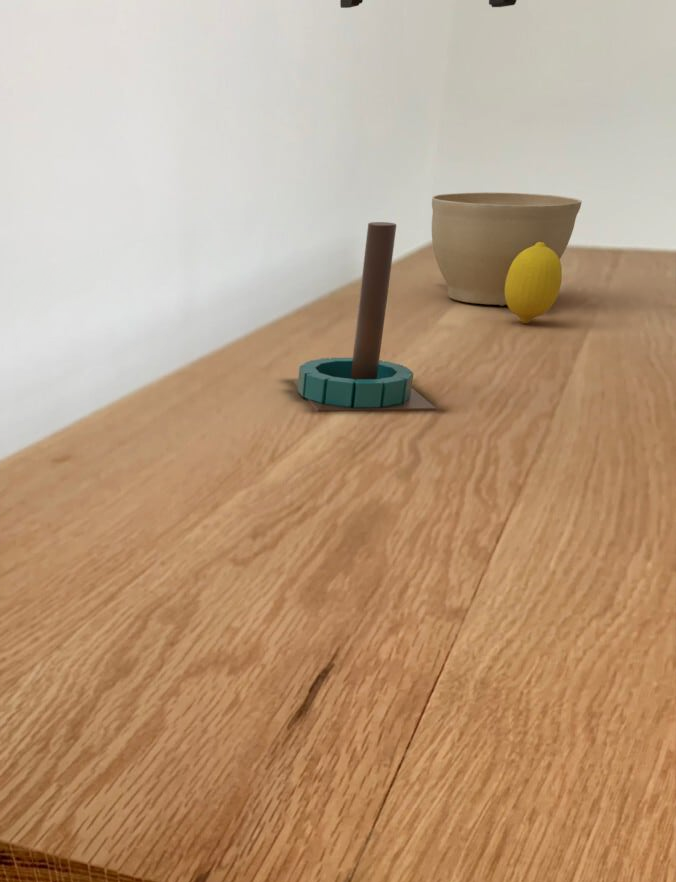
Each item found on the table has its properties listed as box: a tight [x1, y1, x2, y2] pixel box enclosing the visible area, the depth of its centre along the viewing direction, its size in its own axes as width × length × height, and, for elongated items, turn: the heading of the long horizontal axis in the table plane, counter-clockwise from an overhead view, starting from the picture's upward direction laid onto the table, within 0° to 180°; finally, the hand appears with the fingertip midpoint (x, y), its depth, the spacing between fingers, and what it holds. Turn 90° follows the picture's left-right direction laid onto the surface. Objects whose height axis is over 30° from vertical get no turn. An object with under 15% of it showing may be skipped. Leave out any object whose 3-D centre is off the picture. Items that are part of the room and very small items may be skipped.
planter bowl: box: [431, 191, 583, 307], centre depth 127 cm, size 16×16×11 cm
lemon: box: [505, 242, 563, 324], centre depth 116 cm, size 6×6×8 cm
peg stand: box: [292, 221, 437, 413], centre depth 83 cm, size 9×9×14 cm
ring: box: [296, 357, 414, 408], centre depth 85 cm, size 8×8×2 cm
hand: (426, 6), depth 69 cm, fingers open, 9 cm apart
